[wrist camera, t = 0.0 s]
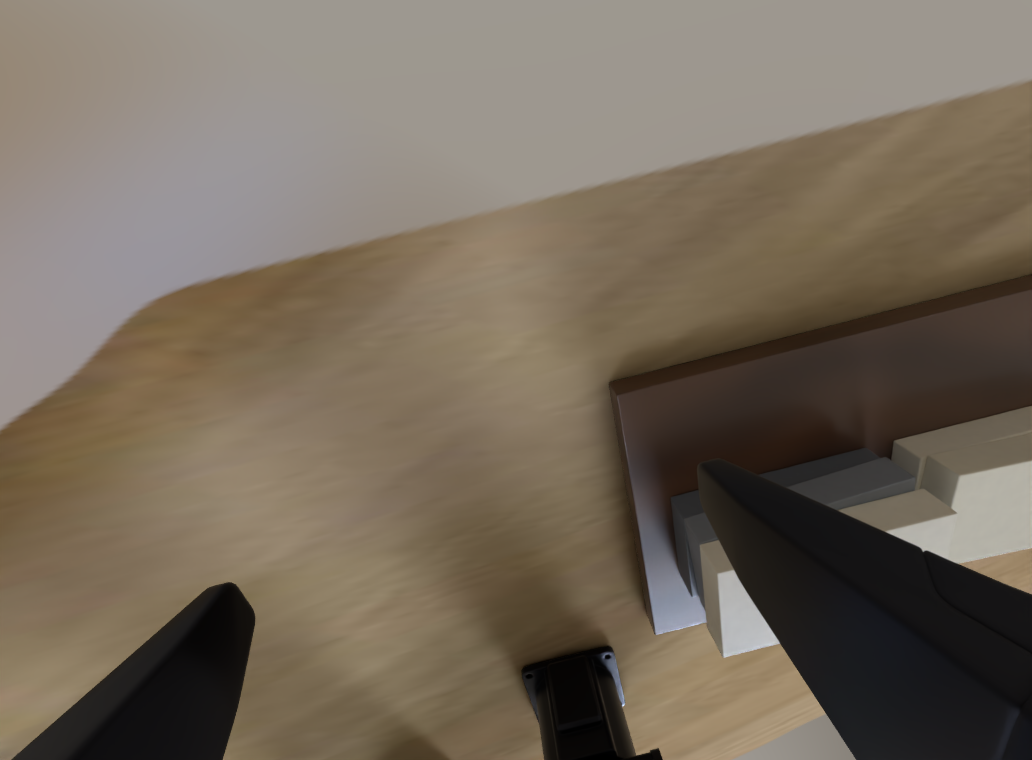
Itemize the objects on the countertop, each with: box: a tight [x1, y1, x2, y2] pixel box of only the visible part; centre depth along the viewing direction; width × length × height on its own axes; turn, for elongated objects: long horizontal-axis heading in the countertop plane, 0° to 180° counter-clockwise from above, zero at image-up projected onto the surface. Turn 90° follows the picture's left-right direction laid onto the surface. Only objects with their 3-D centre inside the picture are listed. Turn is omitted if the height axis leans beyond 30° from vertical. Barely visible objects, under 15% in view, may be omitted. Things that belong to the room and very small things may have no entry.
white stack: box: [891, 406, 1032, 564], centre depth 26 cm, size 7×11×4 cm, turn 103°
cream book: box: [700, 489, 957, 657], centre depth 23 cm, size 6×11×2 cm, turn 103°
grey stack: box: [671, 448, 916, 609], centre depth 26 cm, size 7×11×4 cm, turn 103°
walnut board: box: [609, 275, 1032, 635], centre depth 28 cm, size 18×28×2 cm, turn 103°
